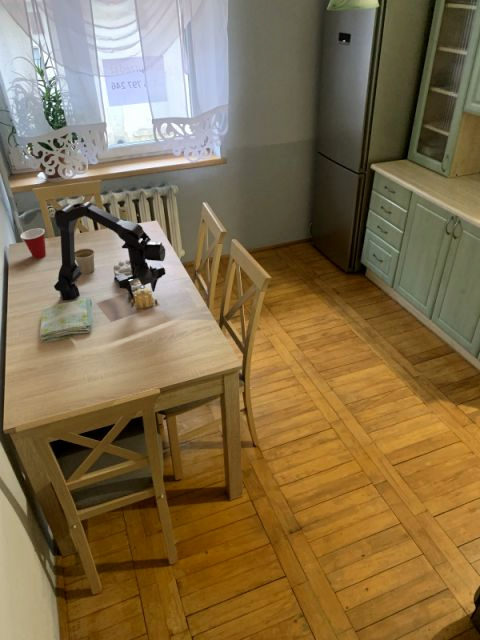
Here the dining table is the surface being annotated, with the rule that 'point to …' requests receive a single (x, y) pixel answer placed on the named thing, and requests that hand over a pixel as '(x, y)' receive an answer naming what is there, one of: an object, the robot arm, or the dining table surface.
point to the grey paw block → (123, 269)
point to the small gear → (138, 283)
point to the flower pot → (85, 260)
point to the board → (122, 307)
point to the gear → (135, 288)
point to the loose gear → (143, 297)
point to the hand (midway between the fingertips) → (143, 294)
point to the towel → (66, 320)
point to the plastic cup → (35, 242)
